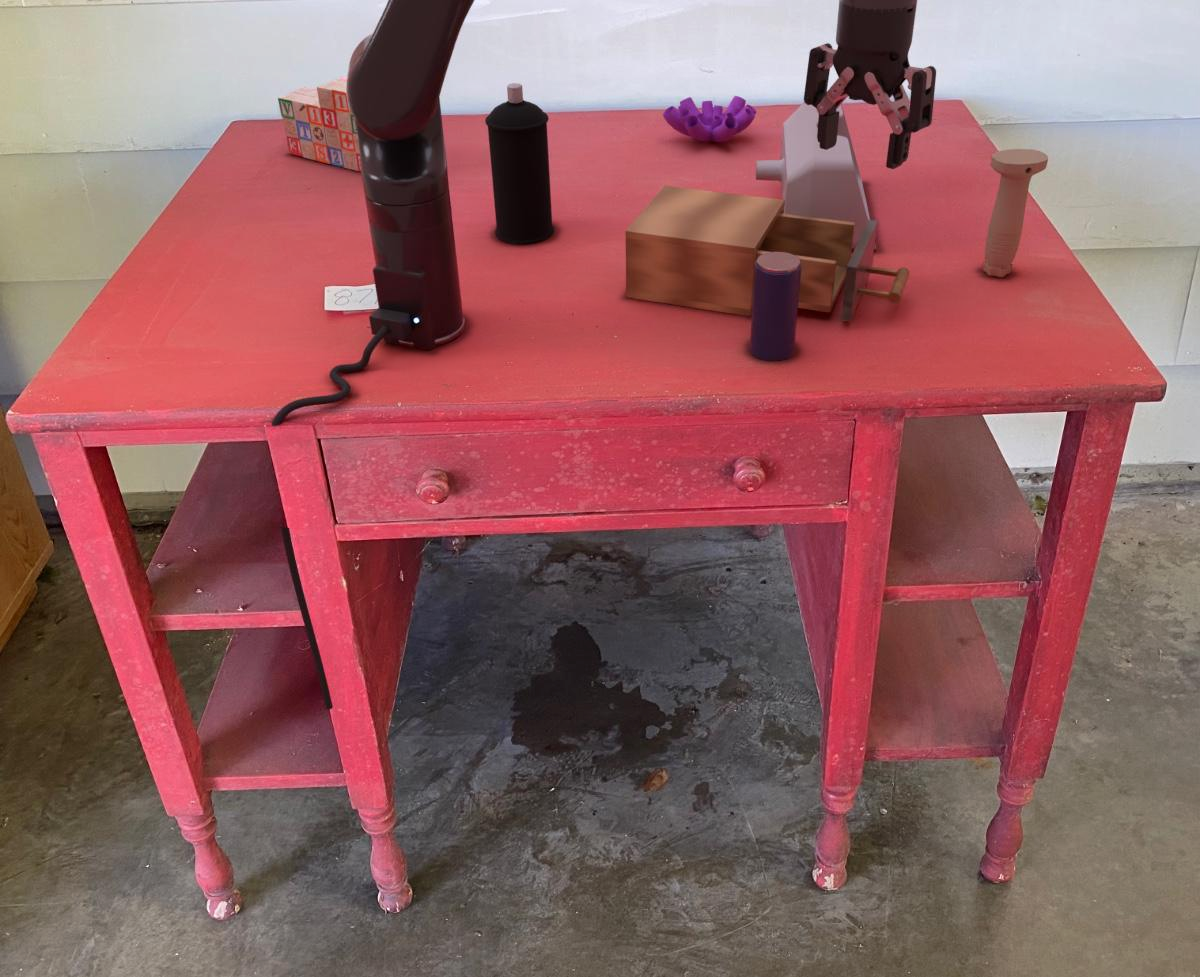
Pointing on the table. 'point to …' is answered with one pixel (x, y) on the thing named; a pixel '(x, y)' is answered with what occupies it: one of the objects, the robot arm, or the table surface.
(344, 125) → the stack of blocks
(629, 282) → the cabinet
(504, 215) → the aerosol can
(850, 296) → the drawer
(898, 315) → the table surface
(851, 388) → the table surface
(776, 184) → the table surface
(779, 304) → the can
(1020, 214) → the handle
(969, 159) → the table surface
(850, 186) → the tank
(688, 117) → the pipe connector assembly
